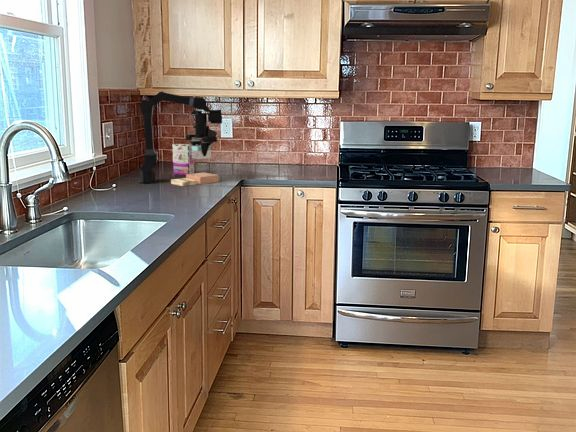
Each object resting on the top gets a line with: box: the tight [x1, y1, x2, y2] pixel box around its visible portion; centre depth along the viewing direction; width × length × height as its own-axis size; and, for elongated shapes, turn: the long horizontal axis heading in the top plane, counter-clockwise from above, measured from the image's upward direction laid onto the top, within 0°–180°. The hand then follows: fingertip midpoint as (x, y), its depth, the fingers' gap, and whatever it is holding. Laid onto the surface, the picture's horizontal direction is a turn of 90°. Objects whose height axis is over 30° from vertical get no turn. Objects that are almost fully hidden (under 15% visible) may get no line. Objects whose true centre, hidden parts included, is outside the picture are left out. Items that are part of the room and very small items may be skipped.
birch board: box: [170, 177, 198, 187], centre depth 275 cm, size 8×10×2 cm
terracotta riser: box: [185, 171, 219, 185], centre depth 282 cm, size 11×12×4 cm
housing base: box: [192, 149, 212, 160], centre depth 280 cm, size 5×8×4 cm, turn 134°
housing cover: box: [192, 144, 212, 151], centre depth 279 cm, size 5×8×3 cm, turn 134°
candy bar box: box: [171, 143, 196, 177], centre depth 303 cm, size 11×5×16 cm, turn 61°
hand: (201, 155), depth 280 cm, fingers closed on housing base, 5 cm apart
